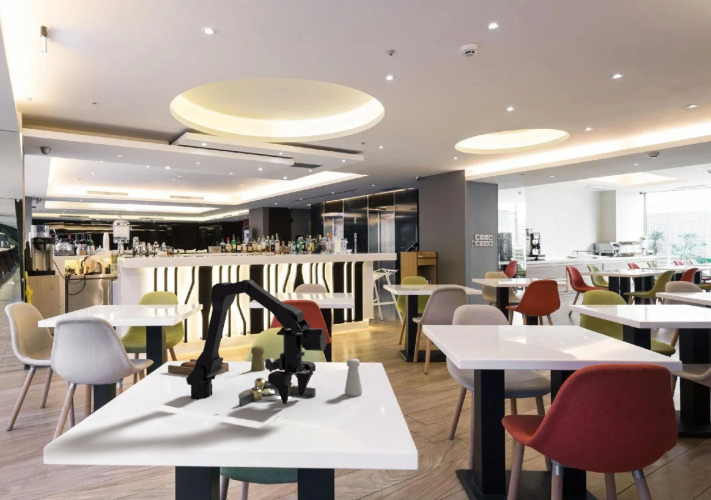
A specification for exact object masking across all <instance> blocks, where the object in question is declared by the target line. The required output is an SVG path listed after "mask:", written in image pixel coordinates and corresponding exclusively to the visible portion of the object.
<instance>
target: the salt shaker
mask: <svg viewBox="0 0 711 500" xmlns="http://www.w3.org/2000/svg"><path fill="white" fill-rule="evenodd" d="M360 362H361V361H360V360H359V358H354V357H353V358H349V359H347V360H346V366H347V374H346V379H345V381H346V382H345V388H344V394H345V395H346V396H348V397H359V396H362V394H363V388H362V383H361V378H360V373H359V367H360V364H361V363H360Z"/></svg>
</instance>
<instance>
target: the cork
mask: <svg viewBox="0 0 711 500" xmlns="http://www.w3.org/2000/svg"><path fill="white" fill-rule="evenodd" d="M250 349H251V351H250V353H251V354H252V358H251V364H250V365H251V367H250V371H251V372H264V371H265V370H266V368H265V361H264V354H265V347H264V346H263V345H262V346H261V345H254V346H253V347H252V348H250Z"/></svg>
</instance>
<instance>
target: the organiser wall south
mask: <svg viewBox="0 0 711 500" xmlns="http://www.w3.org/2000/svg"><path fill="white" fill-rule="evenodd" d="M221 367H222V369H220V370H219V372H218V373H217V374H216V376H217V375H220V374H224V373H227V372H229V371H230V370H229V363H228V364H223V365H221Z"/></svg>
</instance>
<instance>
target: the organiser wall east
mask: <svg viewBox="0 0 711 500" xmlns="http://www.w3.org/2000/svg"><path fill="white" fill-rule="evenodd" d="M197 359H198V358H197ZM197 359H196V358H195V359H194V358H191V359H189V362H196V361H197ZM223 364H229V362H224V361H223V362H222V365H223Z"/></svg>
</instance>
